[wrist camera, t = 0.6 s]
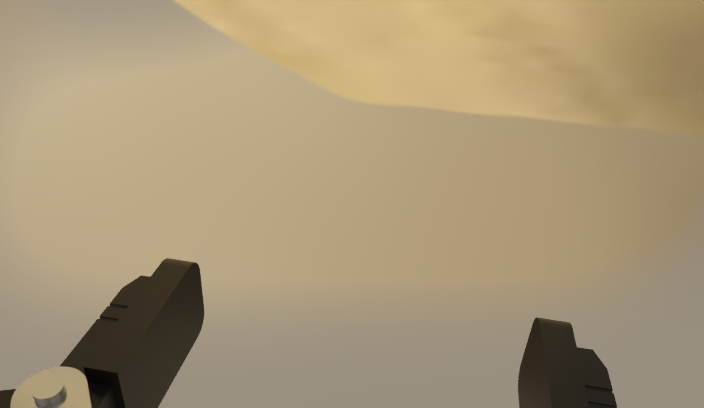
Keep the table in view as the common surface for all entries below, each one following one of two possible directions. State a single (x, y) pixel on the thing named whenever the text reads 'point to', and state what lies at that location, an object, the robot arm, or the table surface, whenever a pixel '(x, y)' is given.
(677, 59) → the table surface
